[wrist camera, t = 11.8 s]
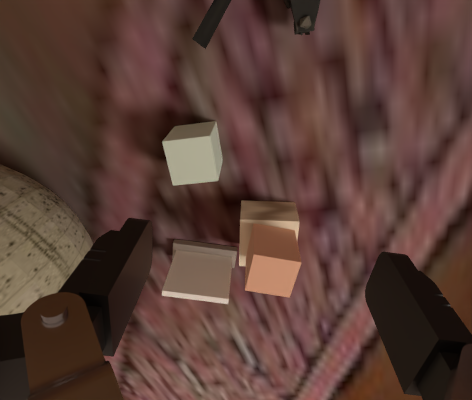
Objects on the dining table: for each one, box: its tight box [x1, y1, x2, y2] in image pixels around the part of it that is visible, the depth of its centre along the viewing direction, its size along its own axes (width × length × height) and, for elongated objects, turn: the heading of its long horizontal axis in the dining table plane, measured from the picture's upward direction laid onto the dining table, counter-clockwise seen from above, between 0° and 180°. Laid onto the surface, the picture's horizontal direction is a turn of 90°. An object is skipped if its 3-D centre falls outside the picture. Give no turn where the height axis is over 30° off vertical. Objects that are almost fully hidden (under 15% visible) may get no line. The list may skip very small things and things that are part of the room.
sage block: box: [162, 121, 223, 186], centre depth 36 cm, size 5×5×6 cm
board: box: [162, 239, 237, 304], centre depth 42 cm, size 9×3×9 cm, turn 83°
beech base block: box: [239, 200, 300, 266], centre depth 42 cm, size 7×7×5 cm
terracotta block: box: [245, 223, 301, 297], centre depth 37 cm, size 5×5×6 cm
